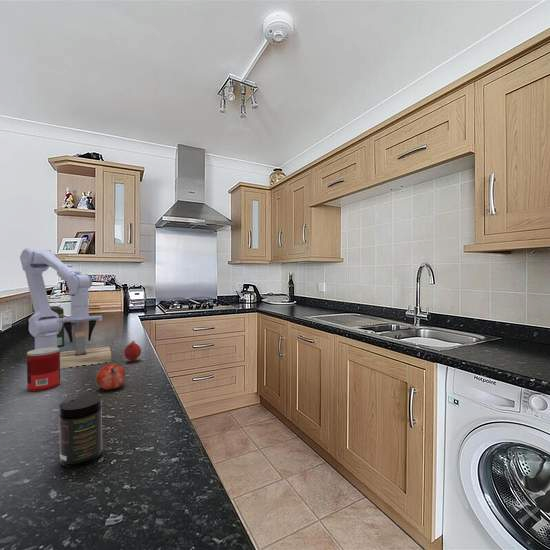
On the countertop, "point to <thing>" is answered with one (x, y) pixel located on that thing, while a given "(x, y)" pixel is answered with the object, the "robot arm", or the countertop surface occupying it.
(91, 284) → the robot arm
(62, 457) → the supplement container
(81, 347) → the orange brown rectangular block
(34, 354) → the canned food
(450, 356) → the countertop surface
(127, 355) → the onion
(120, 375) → the pomegranate
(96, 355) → the beige wooden board
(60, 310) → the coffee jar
